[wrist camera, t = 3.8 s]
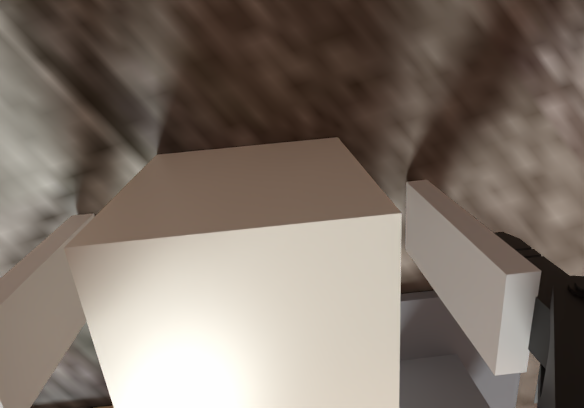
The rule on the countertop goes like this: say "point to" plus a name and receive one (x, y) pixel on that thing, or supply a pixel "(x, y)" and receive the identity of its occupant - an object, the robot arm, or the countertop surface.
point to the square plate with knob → (444, 361)
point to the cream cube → (246, 281)
